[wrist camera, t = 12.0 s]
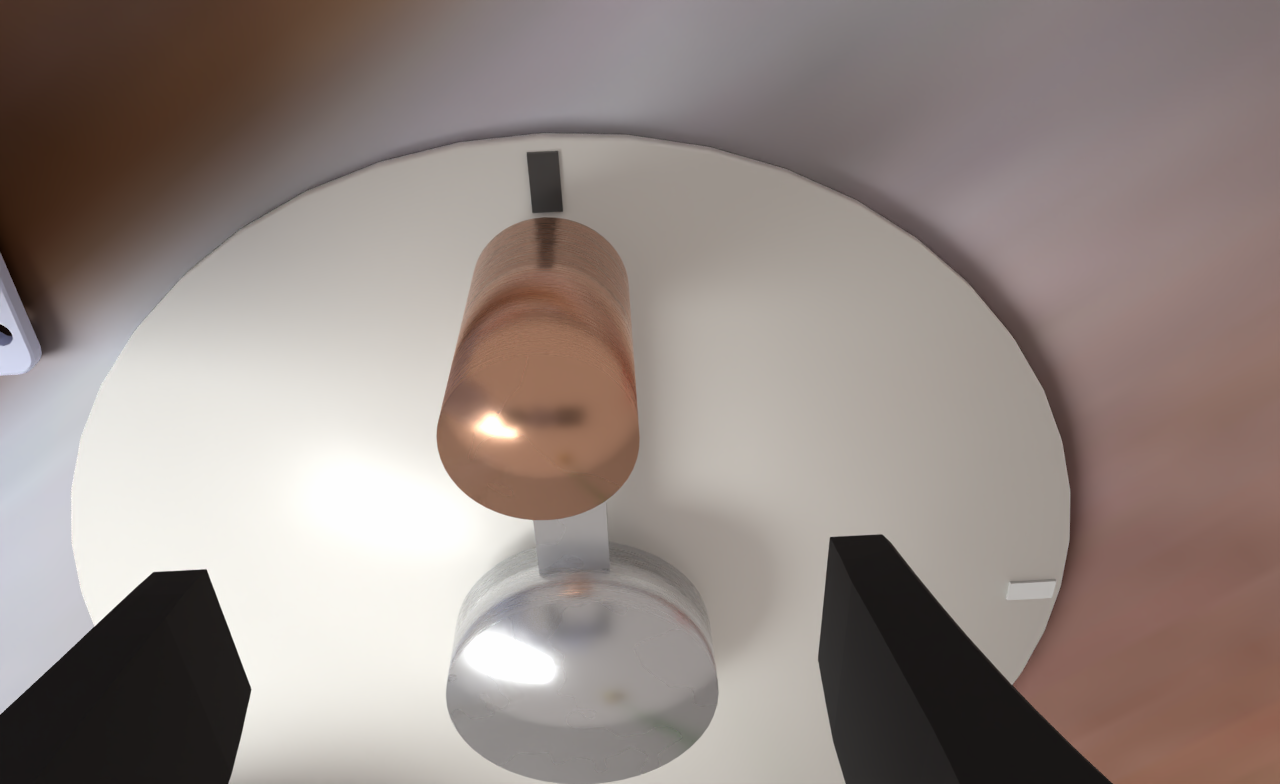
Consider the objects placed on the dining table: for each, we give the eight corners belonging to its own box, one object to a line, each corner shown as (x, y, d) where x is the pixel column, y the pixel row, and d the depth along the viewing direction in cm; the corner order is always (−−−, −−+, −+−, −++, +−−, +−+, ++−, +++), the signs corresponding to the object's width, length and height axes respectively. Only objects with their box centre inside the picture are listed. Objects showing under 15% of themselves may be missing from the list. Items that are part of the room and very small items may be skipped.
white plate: (-110, 162, 18) (-144, 180, 18) (1179, 103, 19) (1207, 119, 18) (232, 890, 32) (223, 921, 31) (978, 846, 32) (988, 875, 32)
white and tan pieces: (708, 712, 26) (733, 914, 21) (473, 725, 26) (447, 931, 21) (715, 199, 18) (757, 345, 14) (374, 214, 18) (300, 366, 13)
